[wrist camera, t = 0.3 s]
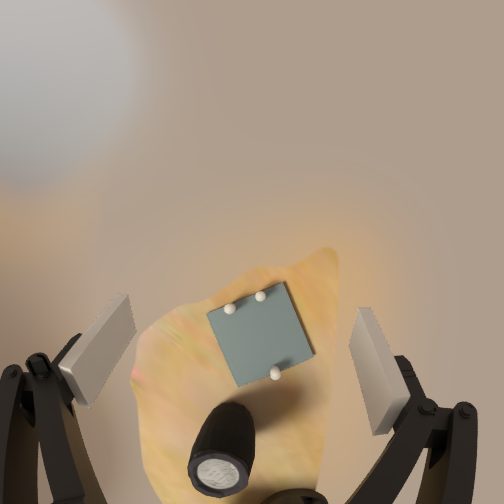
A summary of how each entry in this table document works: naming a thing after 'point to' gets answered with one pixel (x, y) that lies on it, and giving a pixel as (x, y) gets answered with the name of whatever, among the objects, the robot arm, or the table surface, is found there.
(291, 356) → the pin pad
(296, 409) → the table surface
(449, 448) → the robot arm
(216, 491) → the portable speaker
